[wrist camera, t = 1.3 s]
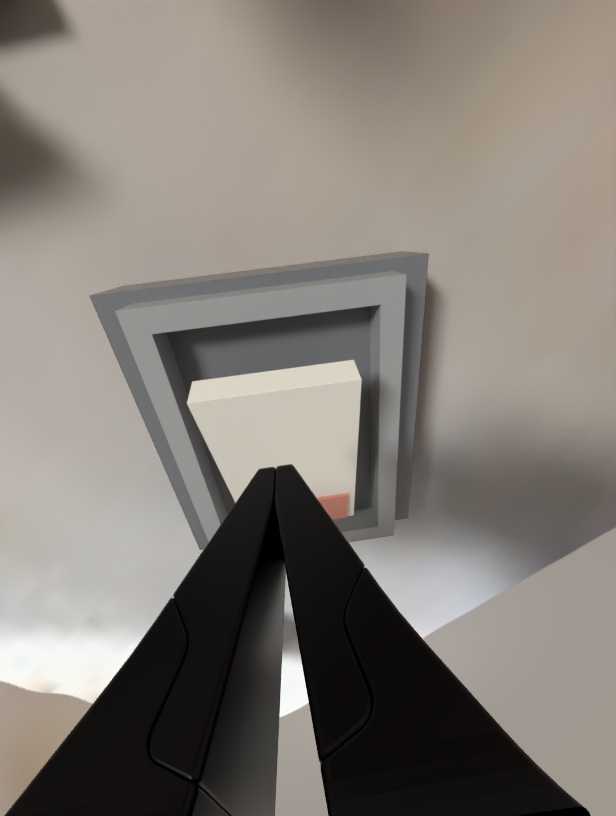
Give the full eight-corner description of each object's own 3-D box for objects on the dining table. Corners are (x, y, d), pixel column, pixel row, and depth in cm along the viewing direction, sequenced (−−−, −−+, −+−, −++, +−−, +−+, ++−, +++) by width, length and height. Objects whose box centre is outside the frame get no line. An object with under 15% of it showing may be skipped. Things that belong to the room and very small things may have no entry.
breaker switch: (349, 496, 18) (354, 517, 17) (249, 511, 18) (249, 533, 17) (353, 359, 11) (362, 382, 10) (192, 381, 11) (186, 406, 10)
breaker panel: (392, 486, 23) (416, 536, 19) (208, 514, 23) (194, 571, 19) (402, 251, 15) (446, 254, 11) (122, 286, 15) (67, 302, 11)
